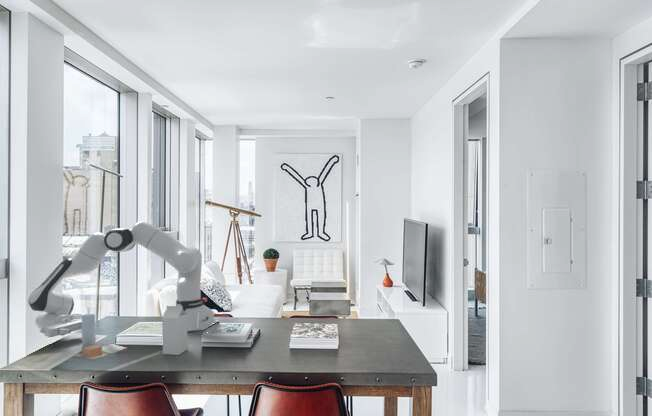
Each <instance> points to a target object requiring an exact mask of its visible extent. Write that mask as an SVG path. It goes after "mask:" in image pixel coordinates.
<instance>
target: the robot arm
mask: <svg viewBox="0 0 652 416" xmlns="http://www.w3.org/2000/svg"><path fill="white" fill-rule="evenodd" d="M136 245H140V246H142V247H143V248H145V249H147V250H148V251H150V252H152V253H154V254H155V255H157V256H158V257H160V258H161V259H163V260H164V261H165V262H167V264H169V265H170V266H171V267H172V268H174V269H175V270H176V271H177V272H178V274H177V281H176V301H175V306H182V307H183V310H184V311H185V312H186V314H187V332H193V331H204V330H206V329H209V328H210V327H209V326H210V325H211V324H212V323H216V322H219V323H220V320H219V319H217V318H215V314H214V310H212V309H211V308H209V307H207V305H205V304H204V302H205V303H207V302H208V298H207V297H201V296H202V295H201V278H202V263H203V262H202V261H203V255H202V253H201V250H199V248H197V247H194V246H189V247H186V246H185V245H183V244H182V243H181V242H179V240H177V239H176V238H175V237H174V236H172V235H170V234H169V233H167V232H165V231H164V230H162V229H160V228H158V227H157V226H155V225H152V224H150V223H148V222H145V221H138V222H136V223H135V224H133V225H132V227H131V228H130V229H129V228H112V229H111V230H109V231H108V232H107V233H106V234H104V233H103V232H93V233H92V234H90V235H89V236H88V237H87V239H86V240H85V241H84V242H83V244H82V245H81V246H80V248H79V249H78V251H77V252H76V253H75V254H74V255H72V256H71V257H69V258H65V259H64V260H62V261H61V262H60V263H59V264H58V265H57V266H56V268H54V270H53V271H52V272H51V273H50V274H49V275H48V276H47V278H46V279H45V280H44V281H43V282H42V283H41V284H40V285H39V286H38V287H36V288H35V290H34V291H32V292H31V294H30V295H29V298H28V299H27V300H28V305H29V307H30V308H31V309H32V311H34V312H35V311H37V312H41V313H39V314H38V315H37V316H36V318H35V324H36V327H37V328H38V329H39V333H41V334H42V333H43V335H44V336H45V337H47V338H53V337H58V336H66V335H69V334H71V333H72V332H76V331H79V330H80V331H81V330H82V315H83V314H82V313H74V314H72V312H73V310H74V306H75V301H74V299H73V297H72V295H70V294H68V293H67V294H66V293H63V292H58V291H55V289H56V287H57V286H58V285H59V284H60V283H61V281H62V280H63V279H65V278H66V277H68V276H70V275H75V274H86V273H90V272H91V273H92V272H93V271H94V270H96V269H97V268H98V267H99V265H100V264H101V262H102V261H103V259H104V257H105V256H106V255H107V253H108V252H110V251H111V252H118V253H122V252H123V253H124V252H128V251H130V250H133V248H134V247H135V246H136ZM208 327H209V328H208Z"/></svg>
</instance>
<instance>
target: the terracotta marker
mask: <svg viewBox="0 0 652 416" xmlns="http://www.w3.org/2000/svg"><path fill="white" fill-rule="evenodd" d="M102 347H103V346H102V345H98V344H96V345H95V344H94V345H91V346H88V347H84V348H83V347H82V353H83V356H87V357H94V356H97V355H100V354H102Z"/></svg>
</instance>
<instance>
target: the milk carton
mask: <svg viewBox="0 0 652 416" xmlns="http://www.w3.org/2000/svg"><path fill="white" fill-rule="evenodd" d="M161 321H162V355H169V356H170V355H173V356H174V355H175V356H179V355H181V354H183V353H184V352H185V351H187V350H188V331H187V314H186V312H185V311H184V310H183V307H182V306H176V305H166V309H165V311H164V313H163V315H162V317H161Z"/></svg>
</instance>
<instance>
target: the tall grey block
mask: <svg viewBox="0 0 652 416" xmlns="http://www.w3.org/2000/svg"><path fill="white" fill-rule="evenodd" d="M81 337H82V338H81V341H82V342H81V343H82V349H83V348H84V347H88V346H91V345H94V344H95V345H97V343H96V341H97V340H96V314H95V313H87V314H82V329H81Z"/></svg>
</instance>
